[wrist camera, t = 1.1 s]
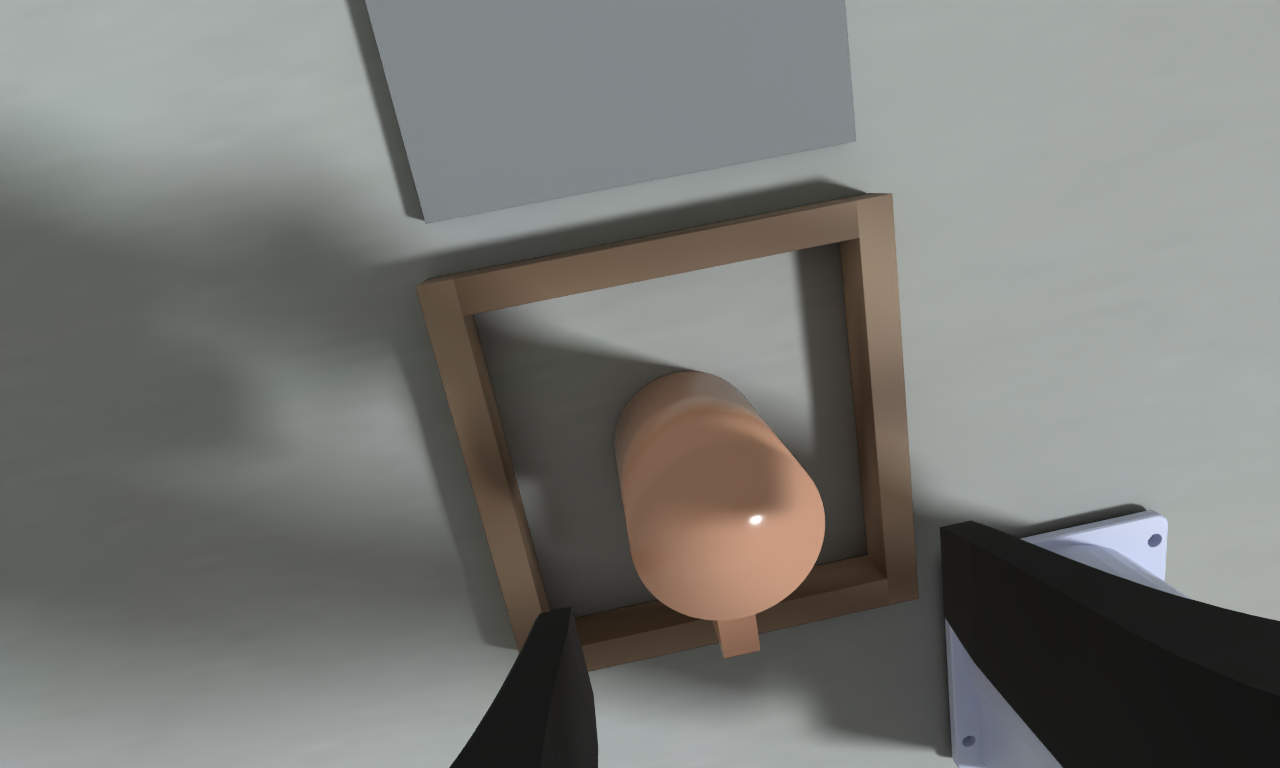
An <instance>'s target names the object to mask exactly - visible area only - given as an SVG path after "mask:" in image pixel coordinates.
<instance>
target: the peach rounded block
mask: <svg viewBox="0 0 1280 768" xmlns="http://www.w3.org/2000/svg"><path fill="white" fill-rule="evenodd" d="M614 449H615V456H616V462H617V469H618V475H619V481H620V487H621V494H622V500H623V506H624V512H625V519H626V525H627V531H628V537H629V544H630V550H631V556H632V560H633V563H634V566H635V569H636V571H637V573H638V575H639V577H640V579H641V580H642V582H643V584H644V585H645V587H646V588H647V589H648V590H649V591H650V592H651V593H652V595H653V596H655V597H656V598H657V599H658V600H659V601H661V602H662V603H663V604H665V605H666V606H668V607H669V608H671V609H673V610H675V611H677V612H679V613H682V614H684V615H687V616H691V617H694V618H699V619H704V620H712V623H713V626H714V629H715V632H716V635H717V638H718V641H719V645H720V648H721V651H722V654H723V657H724V658H729V657H733V656H738V655H742V654H747V653H751V652H756V651H760V650H761V649H760V642H759V636H758V629H757V623H756V616H755V614H757V613H759V612H762V611H764V610H766V609H768V608H770V607H772V606H774V605H776V604H777V603H779V602H780V601H782V600H783V599H785V598H786V597H787V596H788V595H790V594H791V593H792V592H793V591H794V590H795V589H796V588H797V587H798V586H799V585H800V584H801V583H802V582H803V581H804V580H805V578H806V577H807V575H808V574H809V573H810V571H811V570H812V568H813V566H814V564H815V562H816V561H817V558H818V556H819V553H820V551H821V548H822V544H823V539H824V533H825V513H824V508H823V503H822V500H821V497H820V494H819V492H818V490H817V488H816V486H815V484H814V482H813V481H812V479H811V478H810V477H809V475H808V474H807V473H806V471H805V470H804V469H803V468H802V466H801V465H800V464H799V463H798V462H797V460H796V459H795V458H794V457H793V455H792V454H791V453H790V452H789V451H788V449H787V448H786V447H785V446H784V444H783V443H782V442H781V441H780V440H779V438H778V437H777V436H776V435H775V434H774V432H773V431H772V430H771V429H770V427H769V426H768V425H767V424H766V423H765V421H764V420H763V419H762V418H761V416H760V415H759V414H758V413H757V412H756V410H755V409H754V408H753V407H752V405H751V404H750V403H749V402H748V401H747V399H746V398H745V397H744V396H743V394H742V393H741V392H740V391H739V390H738V389H737V388H735V387H734V386H733V385H732V384H730V383H729V382H727V381H725V380H724V379H722V378H720V377H717V376H715V375H712V374H708V373H704V372H697V371H683V372H675V373H671V374H668V375H664V376H662V377H659V378H657V379H655V380H653V381H651V382H650V383H648V384H646V385H645V386H644V387H642V388H641V389H640V390H639V391H638V392H637V393H636V394H635V395H633V397H632V398H631V399H630V400H629V401H628V403H627V404H626V406H625V407H624V409H623V411H622V413H621V415H620V417H619V419H618V422H617V426H616V430H615V436H614Z"/></svg>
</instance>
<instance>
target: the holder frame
mask: <svg viewBox="0 0 1280 768" xmlns="http://www.w3.org/2000/svg"><path fill="white" fill-rule="evenodd" d="M836 242H839V243H840V255H841V266H842V277H843V288H844V299H845V310H846V321H847V332H848V343H849V354H850V365H851V376H852V387H853V398H854V409H855V420H856V432H857V443H858V454H859V465H860V476H861V487H862V498H863V509H864V520H865V531H866V542H867V553H868V555H863V556H859V557H854V558H850V559H845V560H841V561H836V562H831V563H827V564H822V565H818V566H813V568H812V570H811V571H810V573H809V574H808V575H807V577H806V578H805V580H804V581H803V582H802V583H801V584H800V585H799V586H798V587H797V588H796V589H795V590H794V591H793V592H792V593H791V594H790V595H788V596H787V597H786V598H785V599H783V600H782V601H780V602H779V603H777V604H776V605H774V606H772V607H770V608H768V609H766V610H764V611H762V612H759V613H757V614H755V616H756V623H757V629H758V634H761V633H765V632H770V631H774V630H779V629H783V628H788V627H792V626H797V625H801V624H806V623H810V622H815V621H819V620H824V619H828V618H833V617H837V616H842V615H847V614H851V613H856V612H860V611H865V610H869V609H874V608H878V607H883V606H887V605H892V604H896V603H901V602H905V601H910V600H914V599H919V595H918V580H917V565H916V549H915V534H914V519H913V504H912V488H911V473H910V458H909V443H908V427H907V412H906V397H905V381H904V366H903V351H902V336H901V320H900V305H899V290H898V275H897V259H896V244H895V229H894V214H893V198H892V194H886V193H867V194H862V195H857V196H851V197H846V198H841V199H836V200H831V201H826V202H821V203H815V204H810V205H805V206H800V207H795V208H790V209H785V210H780V211H774V212H769V213H764V214H759V215H754V216H749V217H744V218H739V219H733V220H728V221H723V222H718V223H713V224H708V225H703V226H697V227H692V228H687V229H682V230H677V231H672V232H667V233H662V234H656V235H651V236H646V237H641V238H636V239H631V240H626V241H621V242H615V243H610V244H605V245H600V246H595V247H590V248H585V249H580V250H574V251H569V252H564V253H559V254H554V255H549V256H544V257H538V258H533V259H528V260H523V261H518V262H513V263H508V264H503V265H497V266H492V267H487V268H482V269H477V270H472V271H467V272H462V273H456V274H451V275H446V276H441V277H436V278H431V279H427V280H425V281H424V282H422V283H420V284H419V285H417V286H416V287H415V288H416V291H417V295H418V298H419V302H420V305H421V309H422V312H423V316H424V319H425V323H426V326H427V330H428V333H429V337H430V340H431V344H432V347H433V351H434V354H435V358H436V361H437V365H438V368H439V372H440V375H441V379H442V382H443V386H444V389H445V393H446V397H447V400H448V404H449V407H450V411H451V414H452V418H453V421H454V425H455V428H456V432H457V435H458V439H459V442H460V446H461V449H462V453H463V456H464V460H465V463H466V467H467V470H468V474H469V477H470V481H471V484H472V488H473V491H474V495H475V498H476V502H477V505H478V509H479V513H480V516H481V520H482V523H483V527H484V530H485V534H486V537H487V541H488V544H489V548H490V551H491V555H492V558H493V562H494V565H495V569H496V572H497V576H498V579H499V583H500V586H501V590H502V593H503V597H504V600H505V604H506V607H507V611H508V614H509V618H510V622H511V625H512V629H513V632H514V636H515V639H516V643H517V646H518V650H519V653H520V651H521V649H522V647H523V645H524V643H525V641H526V639H527V637H528V635H529V632H530V630H531V628H532V626H533V624H534V622H535V620H536V618H537V617H538V615H539V614H540V613H544V612H549V611H550V607H549V603H548V599H547V595H546V592H545V588H544V584H543V580H542V576H541V573H540V569H539V565H538V561H537V557H536V553H535V550H534V546H533V542H532V538H531V534H530V530H529V527H528V523H527V519H526V515H525V511H524V508H523V504H522V500H521V496H520V492H519V488H518V485H517V481H516V477H515V473H514V469H513V465H512V462H511V458H510V454H509V450H508V446H507V443H506V439H505V435H504V431H503V427H502V423H501V420H500V416H499V412H498V408H497V404H496V400H495V397H494V393H493V389H492V385H491V381H490V378H489V374H488V370H487V366H486V362H485V358H484V355H483V351H482V347H481V343H480V339H479V335H478V332H477V328H476V324H475V320H474V316H473V314H476V313H481V312H486V311H491V310H497V309H502V308H507V307H512V306H517V305H522V304H527V303H532V302H537V301H542V300H547V299H552V298H557V297H562V296H567V295H572V294H577V293H583V292H588V291H593V290H598V289H603V288H608V287H613V286H618V285H623V284H628V283H633V282H638V281H643V280H648V279H653V278H658V277H664V276H669V275H674V274H679V273H684V272H689V271H694V270H699V269H704V268H709V267H714V266H719V265H724V264H729V263H734V262H739V261H744V260H750V259H755V258H760V257H765V256H770V255H775V254H780V253H785V252H790V251H795V250H800V249H805V248H810V247H815V246H820V245H825V244H830V243H836ZM575 622H576V626H577V630H578V634H579V638H580V642H581V646H582V650H583V654H584V658H585V662H586V666H587V671H588V672H589V671H593V670H598V669H602V668H607V667H611V666H616V665H620V664H625V663H629V662H634V661H638V660H643V659H647V658H652V657H657V656H661V655H666V654H670V653H675V652H679V651H684V650H688V649H693V648H697V647H702V646H706V645H711V644H715V643H719V641H718V638H717V635H716V632H715V629H714V626H713V623H712V620H704V619H699V618H694V617H691V616H687V615H684V614H682V613H679V612H677V611H675V610H673V609H671V608H669V607H668V606H666V605H665V604H663V603H662V602H661V601H659V600H657V601H652V602H647V603H643V604H638V605H634V606H629V607H625V608H620V609H615V610H611V611H606V612H602V613H597V614H592V615H588V616H583V617H579V618H575Z"/></svg>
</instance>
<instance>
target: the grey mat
mask: <svg viewBox="0 0 1280 768" xmlns="http://www.w3.org/2000/svg"><path fill="white" fill-rule="evenodd" d="M365 2H366V6H367V10H368V13H369V17H370V21H371V24H372V28H373V32H374V35H375V39H376V43H377V46H378V50H379V54H380V57H381V61H382V65H383V69H384V72H385V76H386V80H387V83H388V87H389V91H390V94H391V98H392V102H393V105H394V109H395V113H396V116H397V120H398V124H399V127H400V131H401V135H402V138H403V142H404V146H405V149H406V153H407V157H408V160H409V164H410V168H411V171H412V175H413V179H414V183H415V186H416V190H417V194H418V197H419V201H420V205H421V208H422V212H423V216H424V219H425V223H426V224H427V223H432V222H437V221H442V220H448V219H453V218H458V217H463V216H468V215H474V214H479V213H484V212H489V211H495V210H500V209H505V208H510V207H515V206H521V205H526V204H531V203H536V202H542V201H547V200H552V199H557V198H562V197H568V196H573V195H578V194H583V193H589V192H594V191H599V190H604V189H609V188H615V187H620V186H625V185H630V184H636V183H641V182H646V181H651V180H656V179H662V178H667V177H672V176H677V175H682V174H688V173H693V172H698V171H703V170H709V169H714V168H719V167H724V166H729V165H735V164H740V163H745V162H750V161H756V160H761V159H766V158H771V157H776V156H782V155H787V154H792V153H797V152H803V151H808V150H813V149H818V148H823V147H829V146H834V145H839V144H844V143H850V142H855V141H856V132H855V120H854V107H853V95H852V82H851V69H850V57H849V44H848V32H847V19H846V6H845V0H365Z"/></svg>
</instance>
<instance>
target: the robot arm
mask: <svg viewBox="0 0 1280 768" xmlns="http://www.w3.org/2000/svg"><path fill="white" fill-rule="evenodd" d="M1167 532H1168V521H1167V519H1166V517H1165V516H1163V515H1161V514H1160V513H1158V512H1156V511H1153V510H1151V511H1144V512H1139V513H1135V514H1130V515H1126V516H1121V517H1116V518H1112V519H1107V520H1103V521H1098V522H1094V523H1089V524H1084V525H1080V526H1075V527H1071V528H1066V529H1062V530H1057V531H1052V532H1048V533H1043V534H1039V535H1034V536H1030V537H1025V538H1020V539H1019V538H1017V537H1014V536H1012V535H1009V534H1006V533H1004V532H1001V531H999V530H996V529H993V528H991V527H988V526H985V525H982V524H979V523H976V522H973V521H967V522H963V523H958V524H953V525H949V526H944V527H940V536H941V556H942V576H943V596H944V616H945V627H946V646H947V666H948V685H949V704H950V723H951V742H952V758H953V761H954V762H955V764H956V765H957V767H958V768H1280V621H1276V620H1272V619H1267V618H1262V617H1258V616H1253V615H1249V614H1245V613H1241V612H1237V611H1232V610H1228V609H1224V608H1221V607H1217V606H1213V605H1210V604H1206V603H1203V602H1199V601H1195V600H1192V599H1190V598H1188V597H1187V596H1185V595H1184V594H1182V593H1181V592H1179V591H1178V590H1176V589H1175V588H1173V587H1172V586H1170V585H1169V584H1167V583H1166V582H1164V579H1165V563H1166V548H1167ZM1151 536H1152V537H1151ZM1150 537H1151V538H1150ZM1149 538H1150V539H1149ZM1148 539H1149V540H1148ZM450 768H598V740H597V728H596V717H595V706H594V696H593V691H592V687H591V683H590V679H589V675H588V671H587V666H586V662H585V658H584V654H583V650H582V646H581V642H580V638H579V634H578V630H577V626H576V622H575V618H574V614H573V610H572V607H567V608H563V609H558V610H553V611H549V612H544V613H540V614H539V615H538V617H537V618H536V620H535V622H534V624H533V626H532V628H531V630H530V632H529V635H528V637H527V639H526V641H525V643H524V645H523V647H522V649H521V651H520V653H519V655H518V657H517V659H516V661H515V663H514V665H513V667H512V669H511V671H510V672H509V674H508V676H507V678H506V680H505V681H504V683H503V685H502V687H501V689H500V691H499V692H498V694H497V696H496V698H495V699H494V701H493V703H492V704H491V706H490V708H489V709H488V711H487V712H486V714H485V716H484V717H483V719H482V720H481V722H480V724H479V725H478V727H477V728H476V730H475V732H474V733H473V735H472V736H471V738H470V739H469V741H468V742H467V744H466V745H465V747H464V748H463V750H462V751H461V752H460V754H459V755H458V757H457V758H456V759H455V761H454V762H453V764H452V765H451V766H450Z"/></svg>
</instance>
